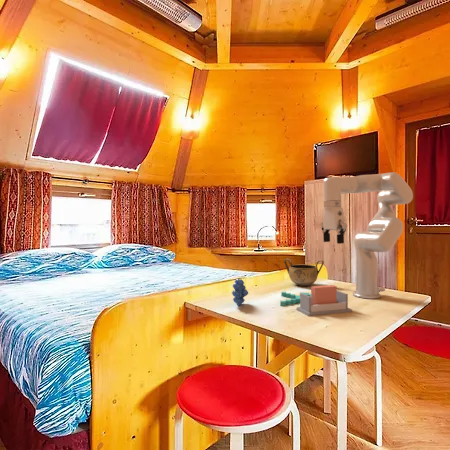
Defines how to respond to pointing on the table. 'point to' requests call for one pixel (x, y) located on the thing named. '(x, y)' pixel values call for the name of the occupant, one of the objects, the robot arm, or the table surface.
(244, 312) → the table surface
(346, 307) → the track
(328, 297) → the salmon pink rectangular block
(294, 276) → the ceramic bowl
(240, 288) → the grapes
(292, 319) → the table surface
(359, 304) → the table surface
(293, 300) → the alien figure
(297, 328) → the table surface
